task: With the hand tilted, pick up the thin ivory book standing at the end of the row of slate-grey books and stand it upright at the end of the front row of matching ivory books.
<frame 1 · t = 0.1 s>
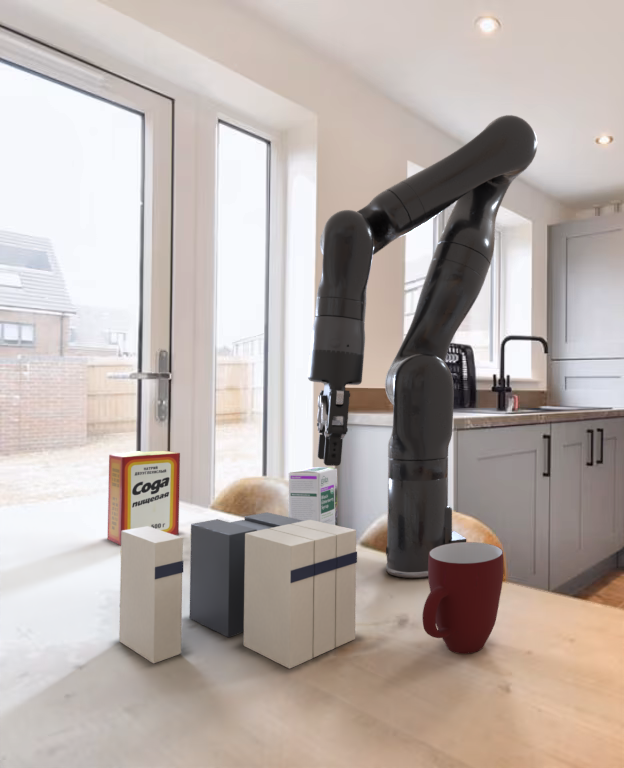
hand: (328, 462, 78), 17 cm above the table, tool pointing down, fingers open, 8 cm apart
grey books: (249, 613, 66), on the table
white book: (149, 647, 57), on the table
mug: (460, 652, 57), on the table
white books: (300, 642, 59), on the table
baking soda box: (143, 537, 102), on the table
syrup box: (313, 557, 90), on the table
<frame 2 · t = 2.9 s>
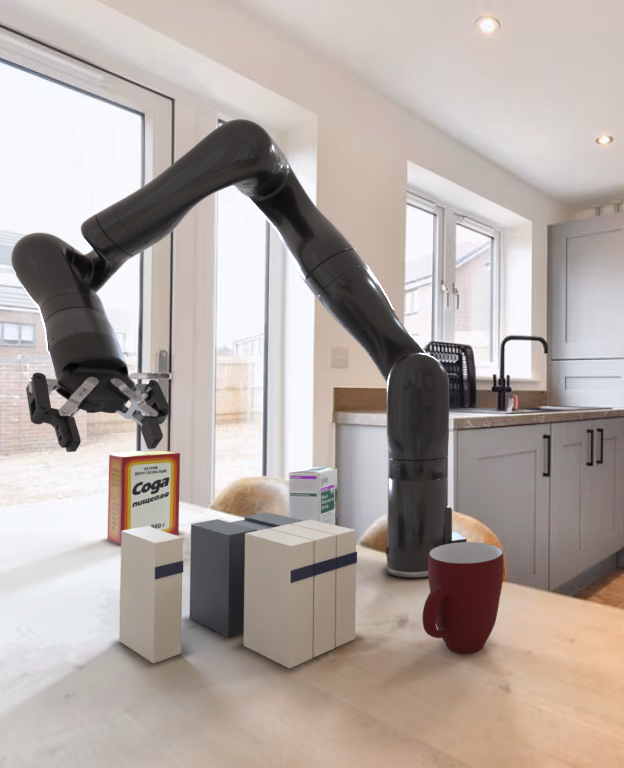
hand: (116, 446, 66), 21 cm above the table, tool tilted 40°, fingers open, 8 cm apart
nothing on the table moved.
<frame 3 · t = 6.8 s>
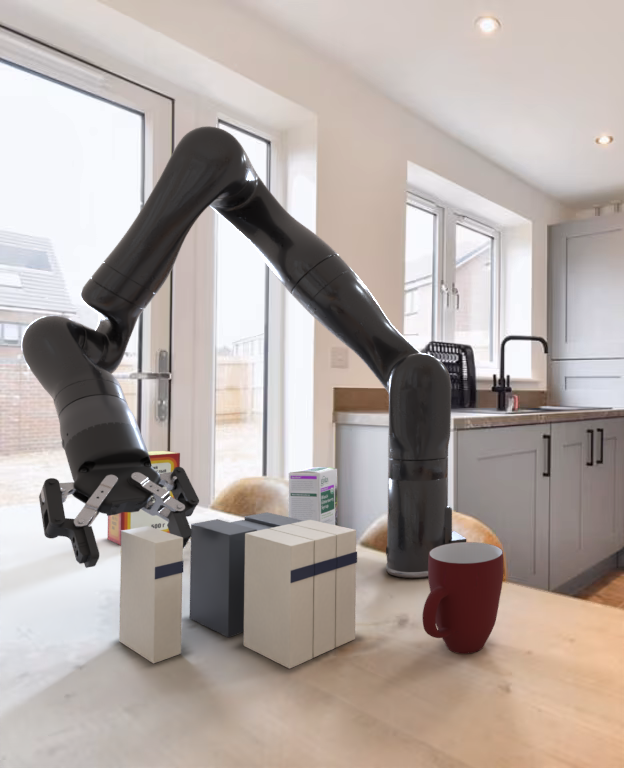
hand: (141, 553, 58), 10 cm above the table, tool tilted 45°, fingers open, 8 cm apart
nothing on the table moved.
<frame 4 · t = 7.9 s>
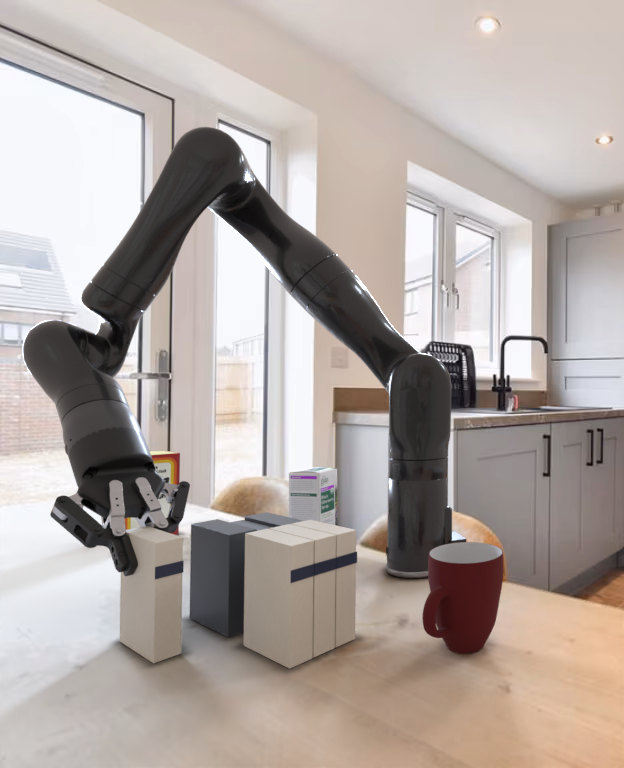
hand: (149, 566, 58), 8 cm above the table, tool tilted 45°, fingers closed on white book, 2 cm apart
white book: (149, 647, 57), on the table, touching gripper
everything else where it was.
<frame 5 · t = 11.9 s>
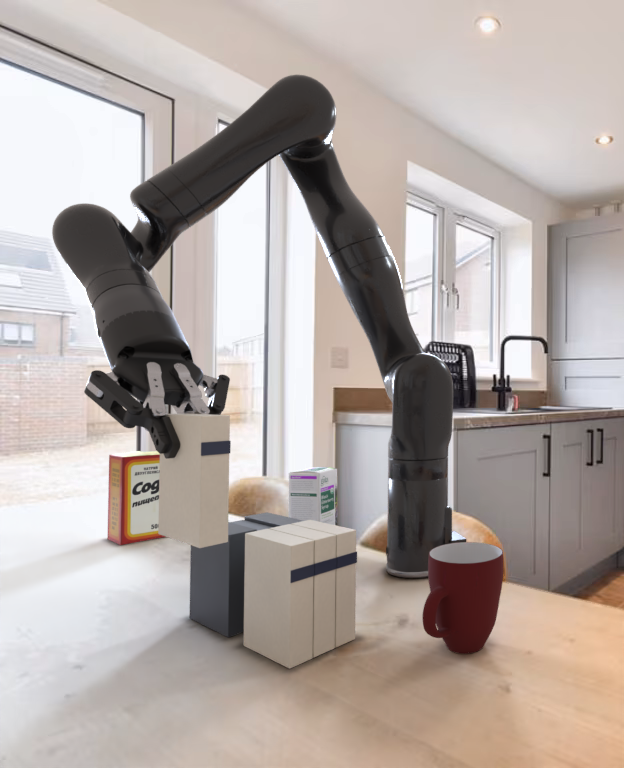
hand: (191, 450, 53), 21 cm above the table, tool tilted 45°, fingers closed on white book, 2 cm apart
white book: (192, 538, 52), point 13 cm above the table, touching gripper
everything else where it was.
when the fingers open (8 cm above the table, at t = 15.9 s): white book stays where it is, on the table.
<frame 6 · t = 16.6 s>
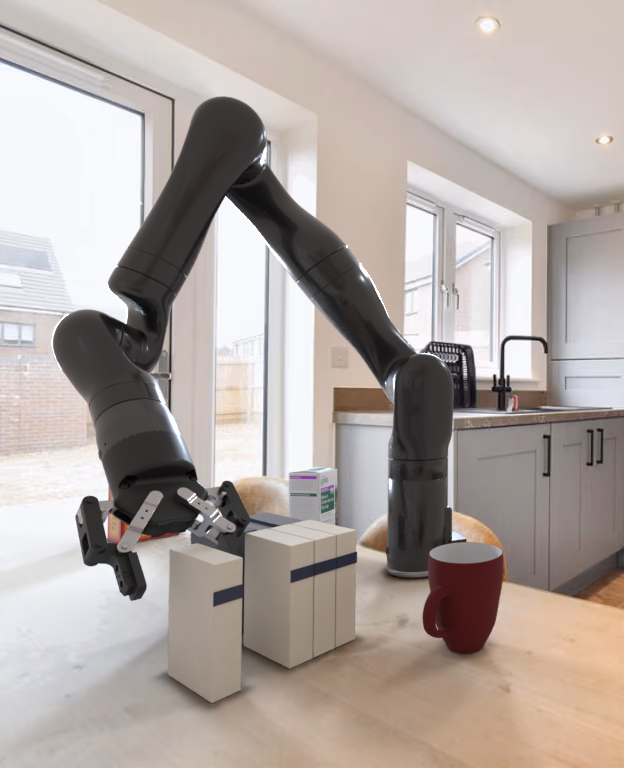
hand: (190, 582, 51), 9 cm above the table, tool tilted 45°, fingers open, 8 cm apart
white book: (203, 682, 50), on the table
everything else where it was.
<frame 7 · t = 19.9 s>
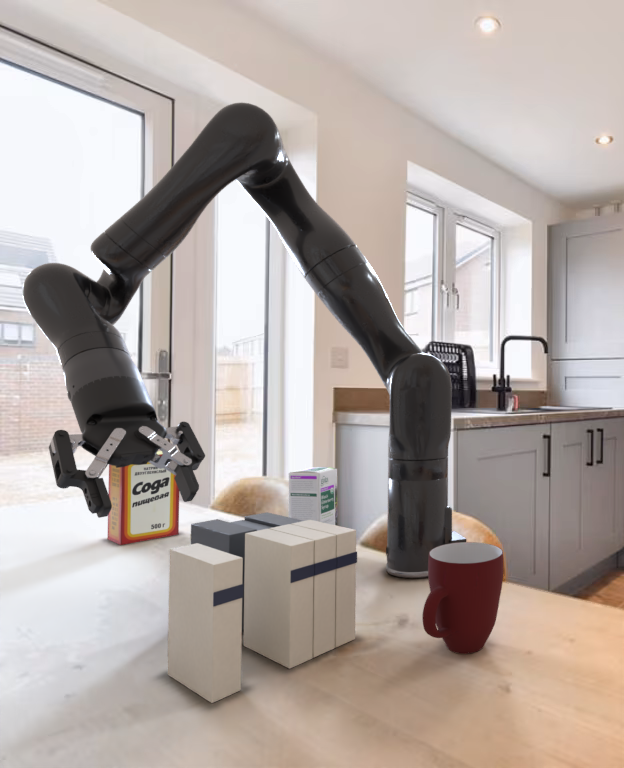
hand: (151, 505, 60), 15 cm above the table, tool tilted 40°, fingers open, 8 cm apart
nothing on the table moved.
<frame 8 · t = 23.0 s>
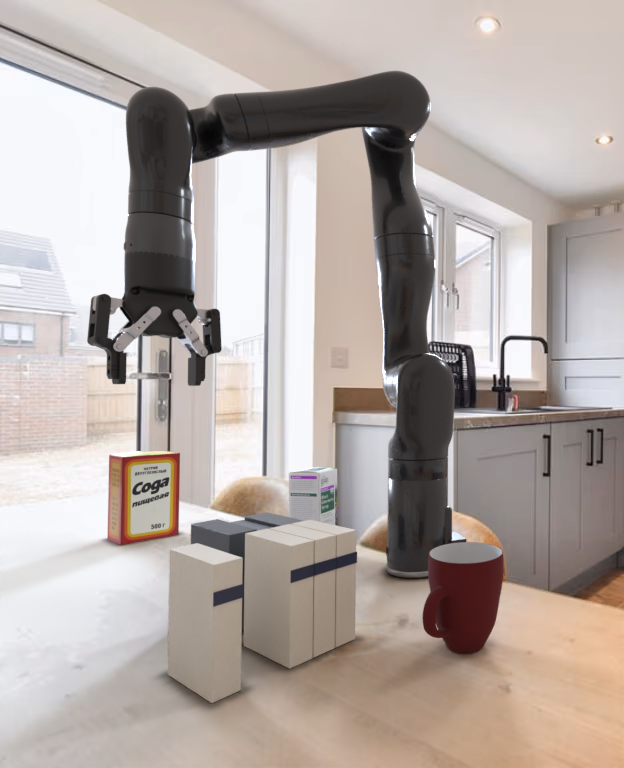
hand: (158, 385, 68), 28 cm above the table, tool pointing down, fingers open, 8 cm apart
nothing on the table moved.
at the end: white book 0.2 cm from the target spot, on the table; white book tilted 0°; white book 10.1 cm from the white books (horizontally) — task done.
